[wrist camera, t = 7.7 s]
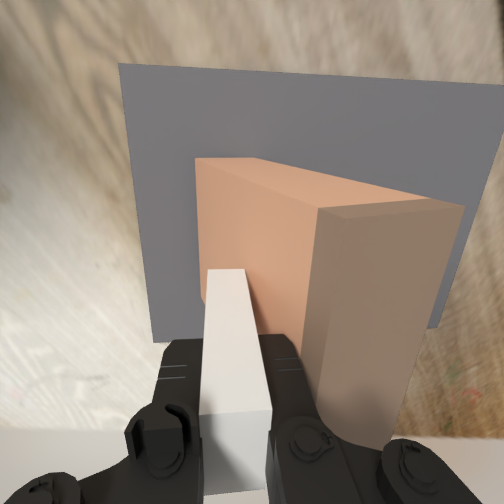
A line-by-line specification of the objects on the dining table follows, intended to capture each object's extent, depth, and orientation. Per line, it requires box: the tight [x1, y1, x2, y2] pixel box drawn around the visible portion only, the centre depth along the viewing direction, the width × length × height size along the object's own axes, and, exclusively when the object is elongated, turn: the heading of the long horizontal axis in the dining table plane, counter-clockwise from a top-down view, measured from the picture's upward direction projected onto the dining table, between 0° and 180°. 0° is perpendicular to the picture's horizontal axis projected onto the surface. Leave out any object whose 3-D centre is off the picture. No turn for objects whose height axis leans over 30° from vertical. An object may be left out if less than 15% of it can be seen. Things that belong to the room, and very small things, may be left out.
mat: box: [118, 63, 504, 343], centre depth 22 cm, size 20×26×1 cm
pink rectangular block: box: [195, 158, 466, 451], centre depth 15 cm, size 10×4×14 cm, turn 178°
